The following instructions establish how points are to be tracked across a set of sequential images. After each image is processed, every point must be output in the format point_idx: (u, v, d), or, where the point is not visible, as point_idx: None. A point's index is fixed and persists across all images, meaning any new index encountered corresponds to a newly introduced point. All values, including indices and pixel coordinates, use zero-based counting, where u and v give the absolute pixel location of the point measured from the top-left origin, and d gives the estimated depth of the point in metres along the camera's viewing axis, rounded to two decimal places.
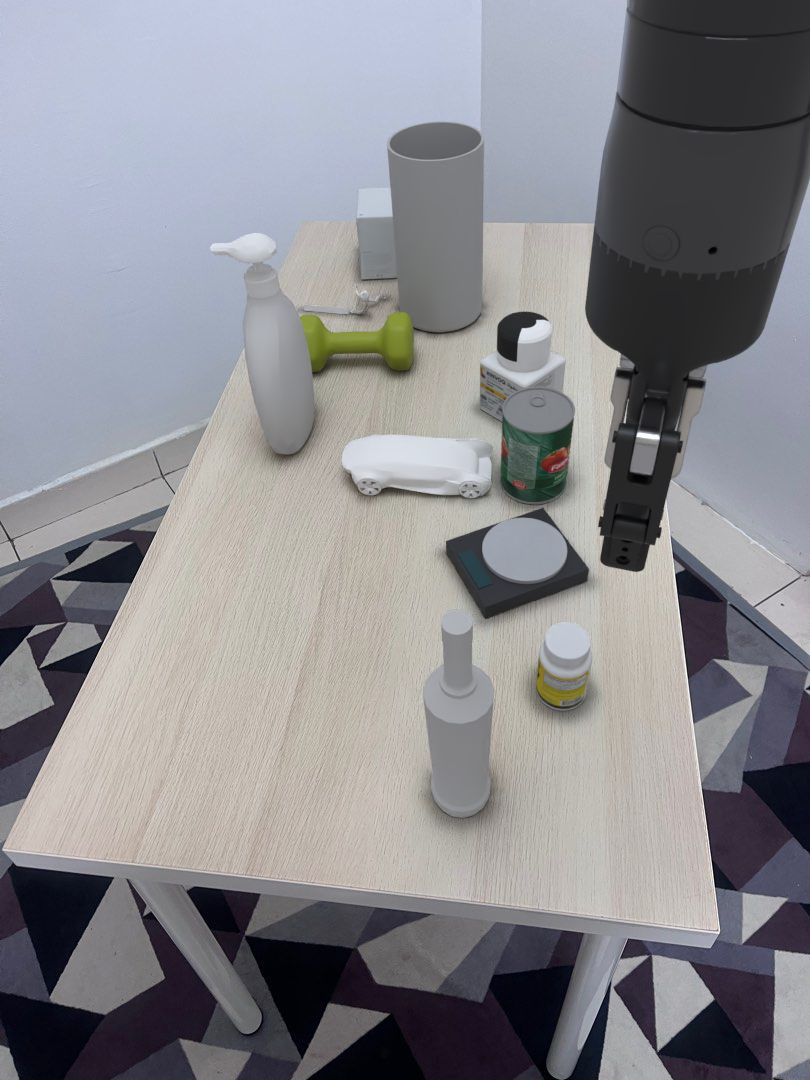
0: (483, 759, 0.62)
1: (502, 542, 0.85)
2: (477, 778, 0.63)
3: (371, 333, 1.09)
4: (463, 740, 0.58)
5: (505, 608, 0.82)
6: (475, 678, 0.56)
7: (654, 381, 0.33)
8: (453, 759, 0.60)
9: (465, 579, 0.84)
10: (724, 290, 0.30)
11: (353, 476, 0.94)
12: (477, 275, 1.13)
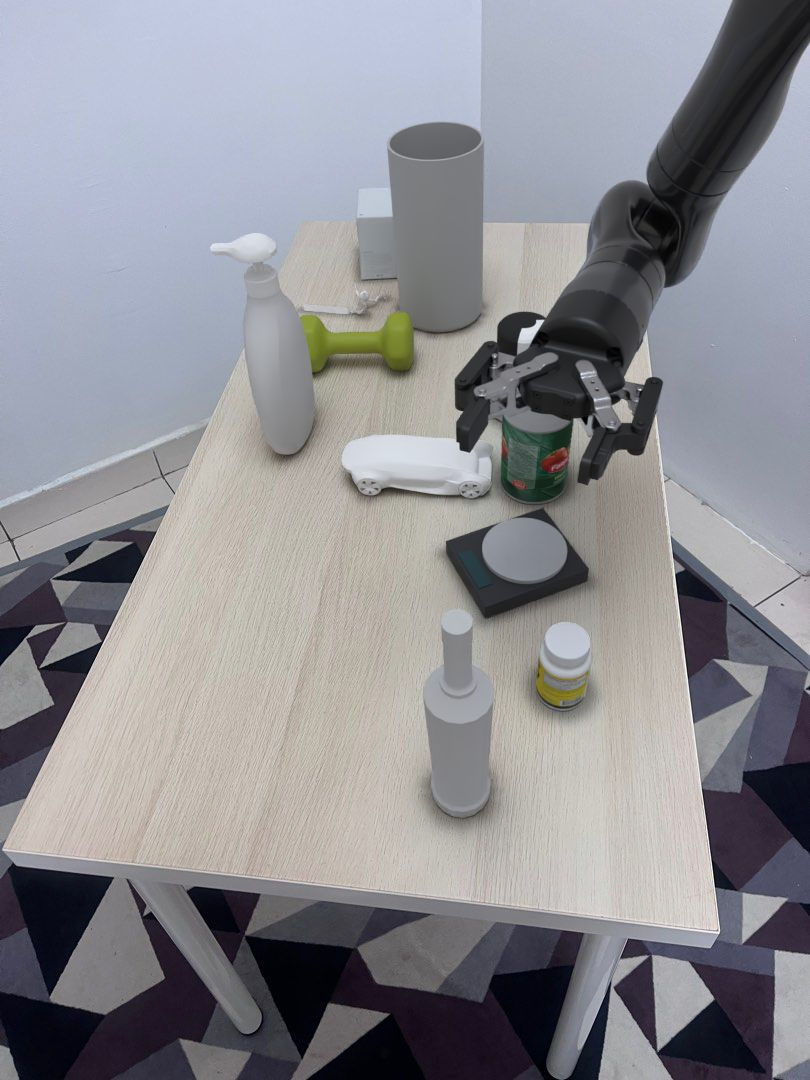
0: (483, 759, 0.62)
1: (502, 542, 0.85)
2: (477, 778, 0.63)
3: (371, 333, 1.09)
4: (463, 740, 0.58)
5: (505, 608, 0.82)
6: (475, 678, 0.56)
7: None
8: (453, 759, 0.60)
9: (465, 579, 0.84)
10: (550, 311, 0.62)
11: (353, 476, 0.94)
12: (477, 275, 1.13)
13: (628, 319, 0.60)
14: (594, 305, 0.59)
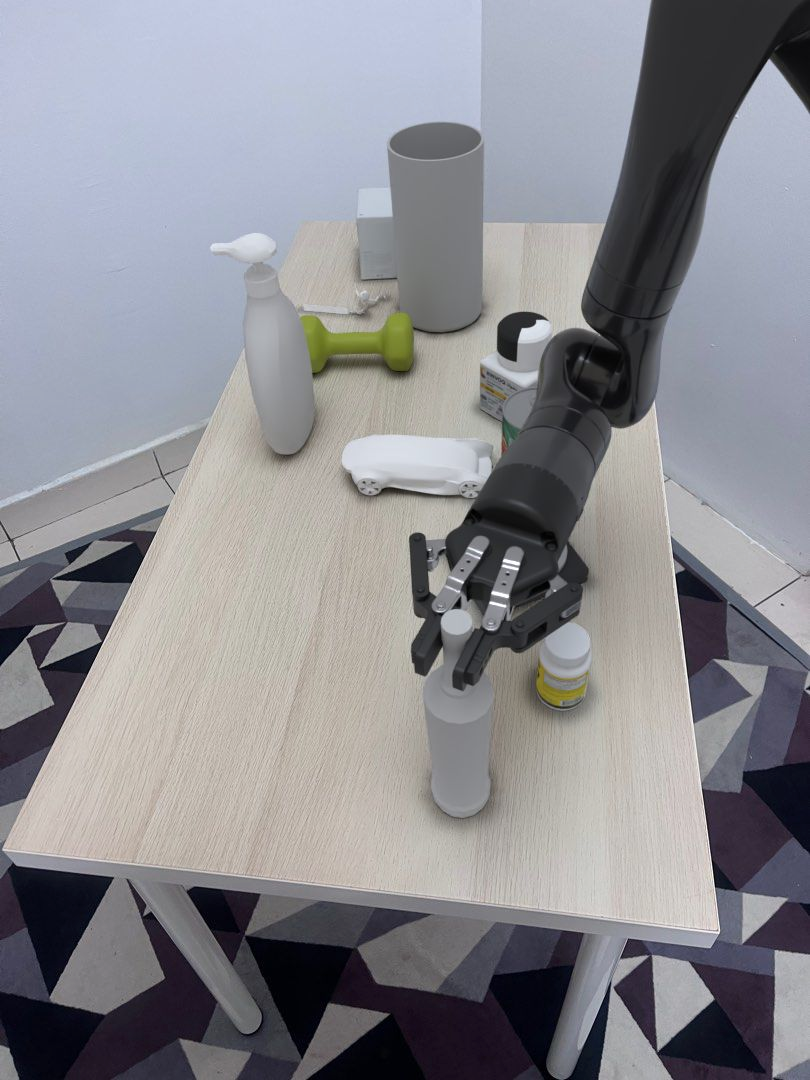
0: (483, 759, 0.62)
1: None
2: (477, 778, 0.63)
3: (371, 334, 1.09)
4: (463, 740, 0.58)
5: None
6: None
7: None
8: (453, 760, 0.60)
9: None
10: (486, 481, 0.60)
11: (353, 476, 0.94)
12: (477, 275, 1.13)
13: (564, 497, 0.57)
14: (528, 485, 0.57)
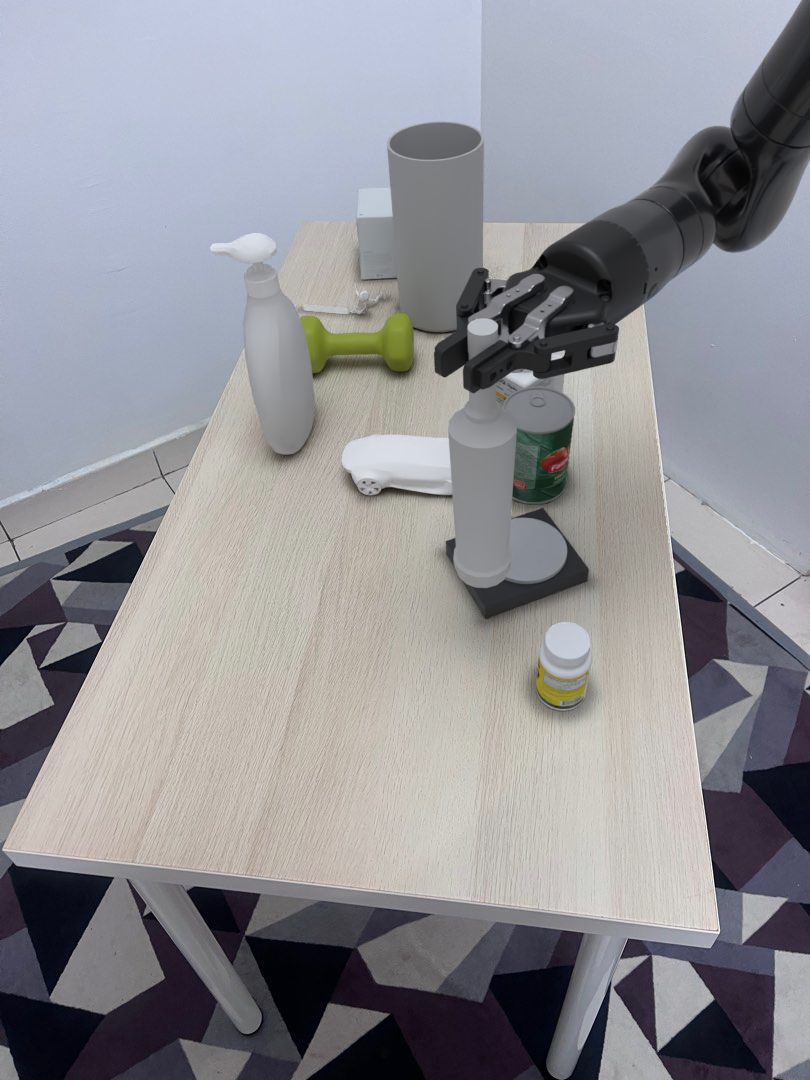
0: (498, 513, 0.63)
1: None
2: (491, 537, 0.65)
3: (371, 334, 1.09)
4: (475, 473, 0.60)
5: (505, 608, 0.82)
6: (498, 410, 0.58)
7: None
8: (467, 500, 0.62)
9: None
10: None
11: (353, 476, 0.94)
12: None
13: (634, 256, 0.57)
14: (599, 235, 0.57)
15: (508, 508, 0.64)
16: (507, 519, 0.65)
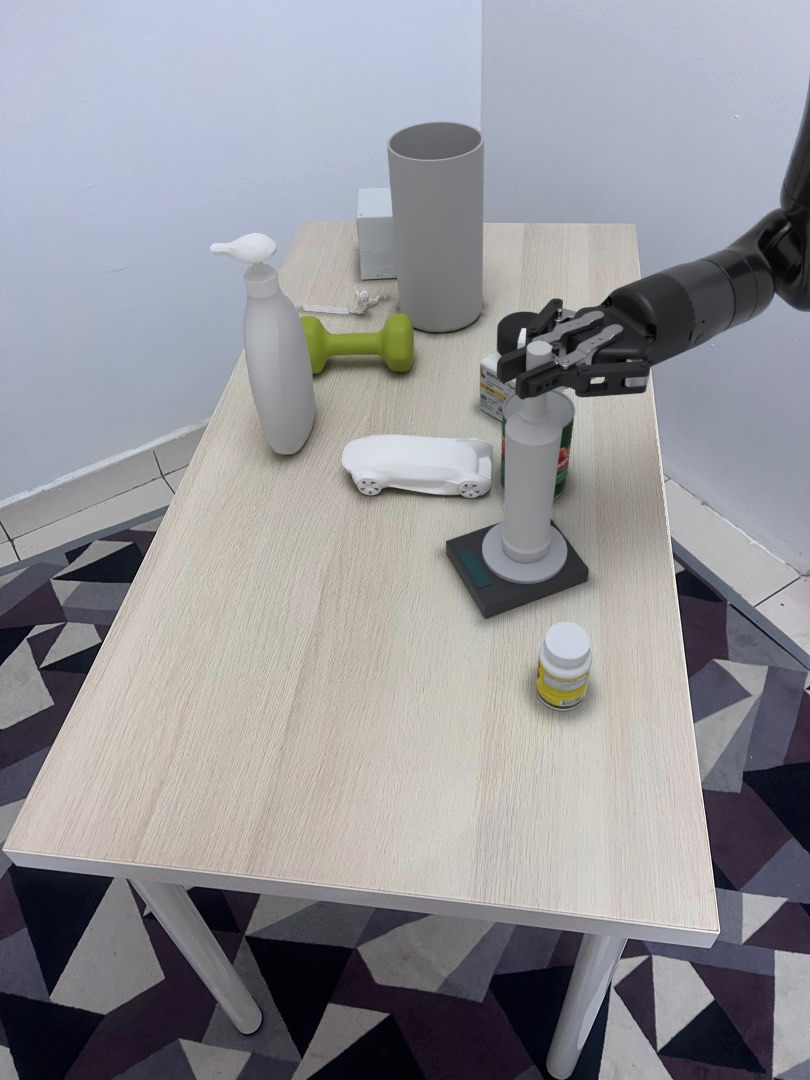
0: (538, 500, 0.76)
1: None
2: (530, 520, 0.78)
3: (371, 334, 1.09)
4: (521, 465, 0.73)
5: (505, 608, 0.82)
6: (546, 416, 0.71)
7: None
8: (513, 486, 0.76)
9: (465, 579, 0.84)
10: None
11: (353, 476, 0.94)
12: (477, 275, 1.13)
13: (683, 308, 0.68)
14: (656, 286, 0.68)
15: (548, 498, 0.77)
16: (547, 508, 0.78)
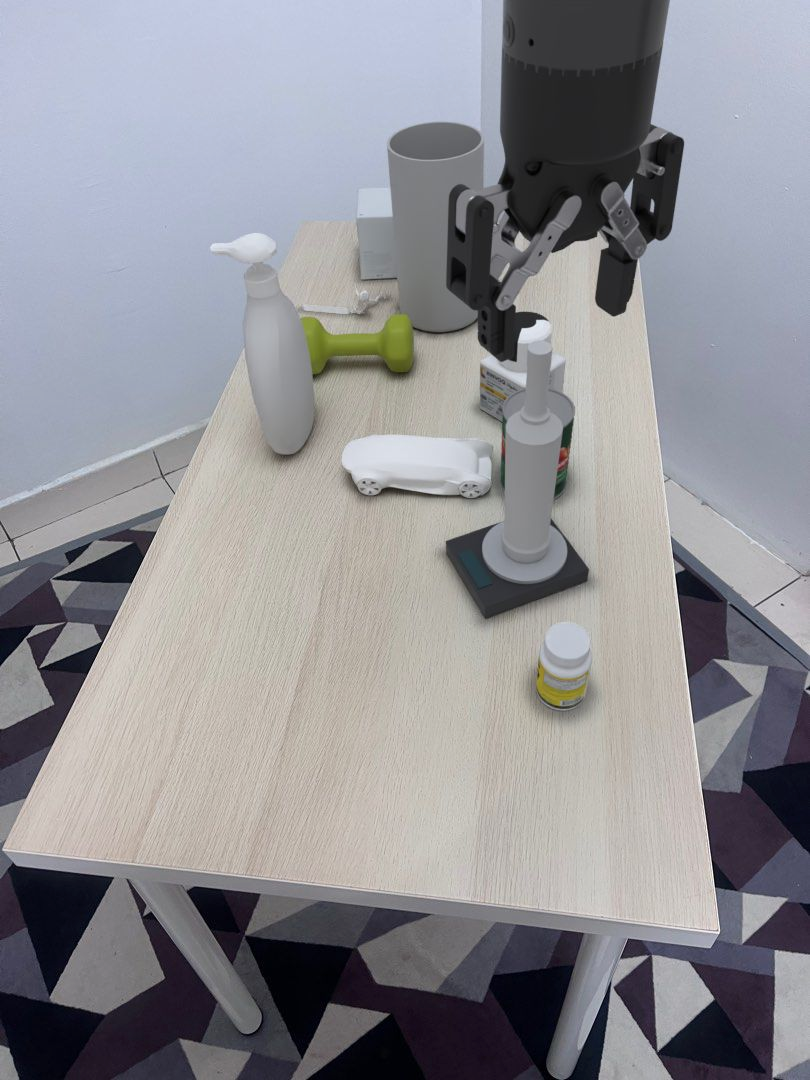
0: (538, 500, 0.76)
1: None
2: (531, 520, 0.78)
3: (371, 335, 1.09)
4: (521, 464, 0.73)
5: (505, 608, 0.82)
6: (547, 415, 0.71)
7: (510, 167, 0.40)
8: (514, 486, 0.76)
9: (465, 579, 0.84)
10: (543, 85, 0.36)
11: (353, 476, 0.94)
12: None
13: (659, 66, 0.38)
14: (633, 109, 0.37)
15: (548, 498, 0.77)
16: (547, 508, 0.78)
